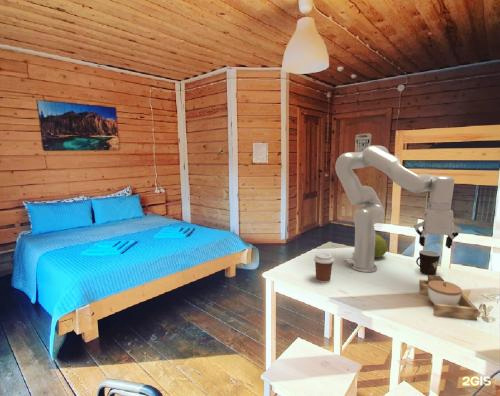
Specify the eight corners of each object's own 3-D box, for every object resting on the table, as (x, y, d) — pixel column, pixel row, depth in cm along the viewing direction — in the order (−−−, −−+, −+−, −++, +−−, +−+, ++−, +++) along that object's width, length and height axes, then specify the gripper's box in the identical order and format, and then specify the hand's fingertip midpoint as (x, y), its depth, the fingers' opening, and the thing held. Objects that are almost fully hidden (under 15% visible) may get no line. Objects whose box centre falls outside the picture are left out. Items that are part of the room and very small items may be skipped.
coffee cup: (309, 278, 137) (309, 253, 135) (323, 274, 141) (324, 250, 139) (322, 285, 129) (323, 260, 127) (337, 281, 133) (338, 256, 131)
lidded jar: (420, 299, 116) (422, 276, 115) (444, 297, 117) (447, 275, 116) (440, 313, 106) (442, 289, 104) (467, 311, 107) (469, 287, 105)
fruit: (381, 251, 171) (392, 233, 162) (379, 268, 160) (391, 249, 151) (354, 241, 175) (363, 222, 166) (350, 256, 164) (360, 237, 155)
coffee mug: (432, 269, 145) (434, 250, 143) (442, 276, 137) (444, 256, 135) (408, 268, 146) (409, 249, 145) (416, 275, 138) (417, 255, 136)
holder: (434, 315, 105) (435, 305, 104) (413, 284, 129) (414, 275, 128) (476, 320, 101) (478, 309, 101) (446, 287, 126) (447, 278, 125)
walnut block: (430, 293, 121) (432, 279, 120) (426, 288, 125) (428, 275, 125) (442, 294, 120) (444, 280, 119) (438, 289, 124) (439, 275, 124)
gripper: (419, 206, 117) (414, 247, 120) (468, 209, 113) (462, 251, 116) (413, 203, 124) (409, 241, 127) (459, 205, 120) (454, 245, 123)
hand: (434, 246), depth 121 cm, fingers open, 9 cm apart
